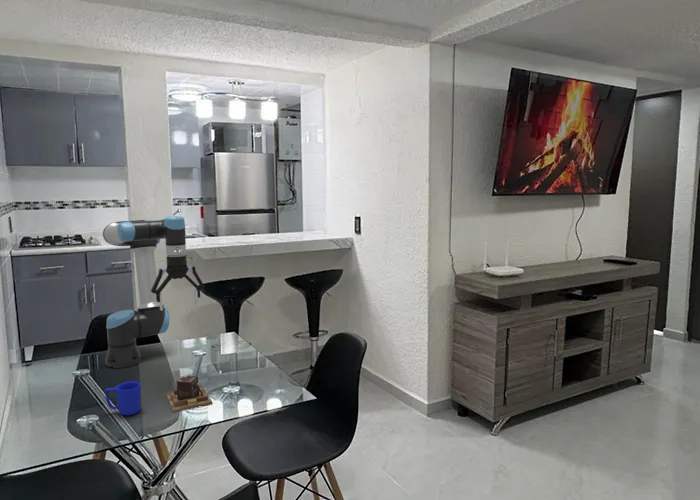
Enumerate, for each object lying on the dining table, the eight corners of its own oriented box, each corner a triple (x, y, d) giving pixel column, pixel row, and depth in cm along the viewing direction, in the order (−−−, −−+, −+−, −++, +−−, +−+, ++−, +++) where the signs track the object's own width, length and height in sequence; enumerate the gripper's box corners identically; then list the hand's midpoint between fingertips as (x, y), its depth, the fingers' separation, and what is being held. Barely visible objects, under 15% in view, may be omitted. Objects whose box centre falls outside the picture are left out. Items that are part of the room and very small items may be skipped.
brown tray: (166, 395, 199) (166, 389, 198) (203, 388, 205) (203, 382, 205) (172, 412, 185) (172, 405, 184) (212, 404, 191) (212, 397, 191)
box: (191, 401, 191) (190, 382, 190) (177, 400, 193) (175, 381, 192) (199, 394, 197) (198, 376, 196) (185, 393, 199) (184, 375, 198)
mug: (111, 408, 188) (109, 382, 187) (145, 406, 189) (143, 380, 188) (102, 418, 180) (100, 391, 179) (138, 416, 181) (136, 389, 180)
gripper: (143, 259, 195) (147, 313, 198) (210, 254, 206) (212, 306, 209) (141, 256, 202) (145, 309, 205) (206, 251, 213) (208, 302, 216)
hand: (179, 307), depth 207 cm, fingers open, 13 cm apart
